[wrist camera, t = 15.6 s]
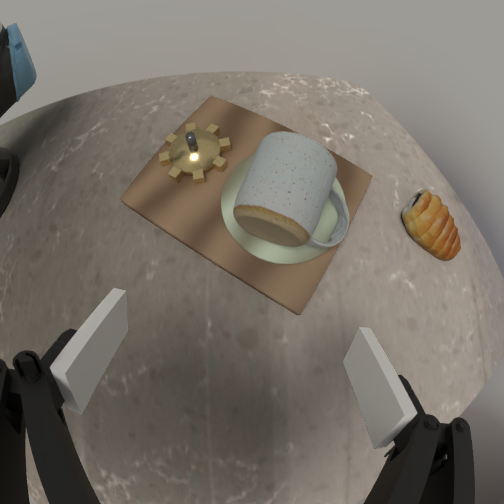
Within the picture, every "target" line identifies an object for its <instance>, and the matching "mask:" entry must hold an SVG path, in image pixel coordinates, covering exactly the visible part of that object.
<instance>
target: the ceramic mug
mask: <svg viewBox="0 0 504 504" xmlns="http://www.w3.org/2000/svg"><path fill="white" fill-rule="evenodd" d="M336 174H337V164H336V161H335V159H334V157H333V156H332V155H331V153H330V152H329V151H328V150H327V149H326V148H325V147H323V146H322V145H321V144H320V143H318V142H317V141H315V140H313V139H311V138H308V137H307V136H304V135H301V134H297V133H293V132H285V131H281V132H274V133H271V134H269V135H267V136H265V137H264V138H263V139H262V140H261V142H260V144H259V146H258V148H257V151H256V153H255V155H254V157H253V160H252V162H251V164H250V166H249V168H248V171H247V173H246V176H245V178H244V181H243V183H242V185H241V187H240V189H239V191H238V194H237V196H236V200H235V204H234V208H233V215H234V218H235V220H236V222H237V223H238V224H239V225H240V226H241V227H242V228H244V229H245V230H246V231H248V232H250V233H251V234H253V235H255V236H257V237H259V238H261V239H264V240H266V241H269V242H271V243H275V244H278V245H282V246H288V247H299V246H302V245H304V244H306V243H307V244H308V245H310V246H313V247H317V248H327V247H332V246H335V245H336V244H338V243H340V242H341V241H342V239H343V238H344V237H345V235H346V233H347V230H348V227H349V219H350V218H349V211H348V207H347V205H346V203H345V201H344V199H343V197H342V196H341V195H340V193H339V192H338V191H337V190H336V189H335V188H334V187H333V186H332V185H333V183H334V181H335V178H336ZM328 197H329V198H330V199H331V200H332V202H333V203H334V205H335V207H336V209H337V213H338V223H337V225H336V228H335V230H334V232H333V234H332V235H330V239H329V241H328V242H325V243H323V242H321V241H318V240H316V239H314V238H312V237H311V236H312V235H313V233H314V231H315V229H316V227H317V225H318V222H319V220H320V217H321V213H322V210H323V208H324V205H325V203H326V201H327V198H328Z"/></svg>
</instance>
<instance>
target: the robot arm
mask: <svg viewBox="0 0 504 504" xmlns="http://www.w3.org/2000/svg"><path fill="white" fill-rule="evenodd" d="M35 80H36V70H35V68H34V65H33V62H32V59H31V57H30V54H29V52H28V49H27V47H26V44H25V42H24V39H23V37H22V34H21V32H20V30H19V28H18V26H17V24H16V23H14V24H12V25H9V26H8V27H7V29H5V28H4V26H3V25H2V24H1V23H0V118H1V116H2V115H3V114H4V113H5V112H6V111H7V110H8V109H9V108H10V107H11V106H12V105H13V104H14V103H15V102H16V101H17V102H18V101H19V100H20V97H21V96H22V95H23V94H24V93H25V92H26V91H27V90H28V89H30V88H31V87H32V85H33V84H34V82H35ZM18 172H19V161H18V158H17V156H16V155H14V154H13V153H12V152H11V151H10V150H8V149H5V148H2V147H0V216H1V215H2V213H3V211H4V210H5V208H6V206H7V204H8V202H9V200H10V198H11V195H12V193H13V190H14V188H15V185H16V181H17V177H18ZM128 331H129V330H128V317H127V301H126V291H125V290H121V289H117V288H113V289H112V291H111V292H110V293H109V294H108V295H107V296H106V297H105V299H104V300H103V301H102V302H101V303H100V304H99V305H98V307H97V308H96V309H95V310H94V311H93V313H92V314H91V315H90V316H89V317H88V319H87V320H86V321H85V322H84V323H83V325H82V326H81V327H80V328H79V330H78V331H76V330H74V329H71V328H70V329H69V330H67V331H65V332H63V333H62V334H61V335H60V336H59V338H58V339H57V341H55V342H54V344H53V346H51V347H50V349H49V350H48V351H47V352H46V354H45V355H44V356H43V357H42V359H41V360H40V359H39V356H38V355H37V354H36V353H35V352H33V351H22V352H20V353H18V354H17V355H16V356H15V357H14V359H13V363H12V364H13V366H14V368H15V370H14V369H9V368H8V367H7V365H6V363H5V362H4V361H3V360H2V359H0V504H30V502H29V495H28V486H27V476H26V456H25V433H26V429H27V433H28V438H29V442H30V446H31V450H32V454H33V458H34V461H35V464H36V468H37V471H38V474H39V477H40V480H41V483H42V486H43V488H44V491H45V494H46V496H47V499H48V501H49V504H101V503H100V502H99V500H98V498H97V496H96V494H95V492H94V490H93V488H92V486H91V484H90V482H89V480H88V478H87V476H86V473H85V471H84V469H83V466H82V464H81V462H80V459H79V457H78V454H77V452H76V449H75V447H74V444H73V441H72V438H71V435H70V433H69V430H68V427H67V423H66V420H65V417H64V414H63V410H62V408H61V406H62V404H63V403H64V402H65V404H66V406H67V408H68V409H70V410H72V411H74V412H76V413H79V414H81V415H82V414H83V412H84V410H85V408H86V406H87V404H88V402H89V400H90V398H91V396H92V394H93V392H94V391H95V389H96V387H97V385H98V383H99V381H100V379H101V378H102V376H103V374H104V372H105V370H106V369H107V367H108V365H109V363H110V361H111V360H112V358H113V356H114V354H115V353H116V351H117V349H118V347H119V346H120V344H121V342H122V341H123V339H124V337H125V336H126V334H127V332H128ZM343 364H344V367H345V369H346V372H347V374H348V377H349V380H350V382H351V385H352V388H353V390H354V393H355V396H356V399H357V401H358V404H359V407H360V410H361V412H362V415H363V418H364V421H365V424H366V427H367V430H368V433H369V435H370V438H371V441H372V444H373V447H374V449H376V448H382V447H387V446H388V445H389V444H390V443H391V442H392V441H393V440H394V443H395V445H394V446H393V447H392V448H391V449H390V450H389V451H388V452H387V453H386V454H385V456H384V457H386V456H387V455H388V454H389V456H388V458H387V460H386V462H385V465H384V467H383V469H382V471H381V473H380V475H379V477H378V479H377V481H376V482H375V484H374V486H373V488H372V490H371V492H370V493H369V495H368V497H367V499H366V500H365V502H364V504H474V501H475V482H474V481H475V479H474V462H473V450H472V440H471V432H470V427H469V424H468V423H467V421H466V420H464V419H463V418H460V417H458V418H455V419H453V420H452V422H451V423H450V424H445V423H440V422H439V421H438V419H437V418H436V417H434V416H433V415H429V414H425V412H424V410H423V408H422V406H421V404H420V402H419V400H418V399H417V397H416V395H415V393H414V391H413V389H412V388H411V386H410V384H409V382H408V381H407V380H406V379H405V378H404V377H403V376H402V375H397V373H396V372H395V370H394V368H393V366H392V364H391V363H390V361H389V359H388V357H387V356H386V354H385V352H384V350H383V349H382V347H381V345H380V344H379V342H378V340H377V338H376V337H375V335H374V333H373V332H372V330H371V328H367V327H359V328H358V331H357V333H356V335H355V337H354V339H353V342H352V344H351V346H350V348H349V350H348V352H347V354H346V356H345V358H344V360H343ZM446 455H447V459H446Z"/></svg>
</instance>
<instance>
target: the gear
mask: <svg viewBox="0 0 504 504" xmlns="http://www.w3.org/2000/svg"><path fill="white" fill-rule="evenodd" d="M219 133H220V130H219V126H216V125H214V124H212V123H211V124H210V125H209V126H208V127H207V129H206V130H204V129H196V125H195V122H194V123H189V124H186V132H184V133H182V134H180V135H179V136H176V135H174V134H172V133H170V134H169V135H168V136H167V138H166V139H165V141H166V144H167V145H168V146H170V148H169V151H167V152H164V153H160V154H159V159H160V163H161V165H162V167H164V166H168V165H173V168H172V169H171V170H170V171H169V173H168V175H169V177H170V179H172V180H173V181H175V182H177V183H178V182H179V181H180V180H181V179H182V177H183V176H184V175H186V176H193V179H194V182H195V185H198V184H203V183H206V182H205V177H204V174H205V173H207V172H209V171H210V170H212V169H215V170H217V171H219V172H221V173H222V172H223V171H224V169H225V168H226V167H227V160H226V159H224V158H222V157H221V153H223V152H228V151H231V145H230V141H229V137H228V138H223V139H218V138H217V136H218V135H219Z"/></svg>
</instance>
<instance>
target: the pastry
mask: <svg viewBox="0 0 504 504" xmlns="http://www.w3.org/2000/svg"><path fill="white" fill-rule="evenodd" d="M402 218H403V221H404V224H405V227H406V230H407V232H408V233H409V234H410V235H411V236H412V237H413V239H414V241H416V242H417V243H418V244H419V245H420V246H422V247H423V248H424V249H425V250H427V251H428V252H430V253H431V254H432V255H434V256H435V257H437V258H438V259H441V260H451V259H453V258H454V257H455V256H456V254H457V253H458V252H459V251H460V249H461V246H460V238H459V235H458V229H457V227H456V226H455V225H454V218H453V217H452V216H451V215H450V214H449V211H448V207H447V206H445V205H442V203H441V199H440V197H439V196H437V195H432V194H431V193H430V191H429V190H425V189H423V190H421V191H419V192H418V195H417V196H416V197H414V198H413V199H412V200H411V202H410V204H409V206H408V207H406V208H404V210H403V211H402Z"/></svg>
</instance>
